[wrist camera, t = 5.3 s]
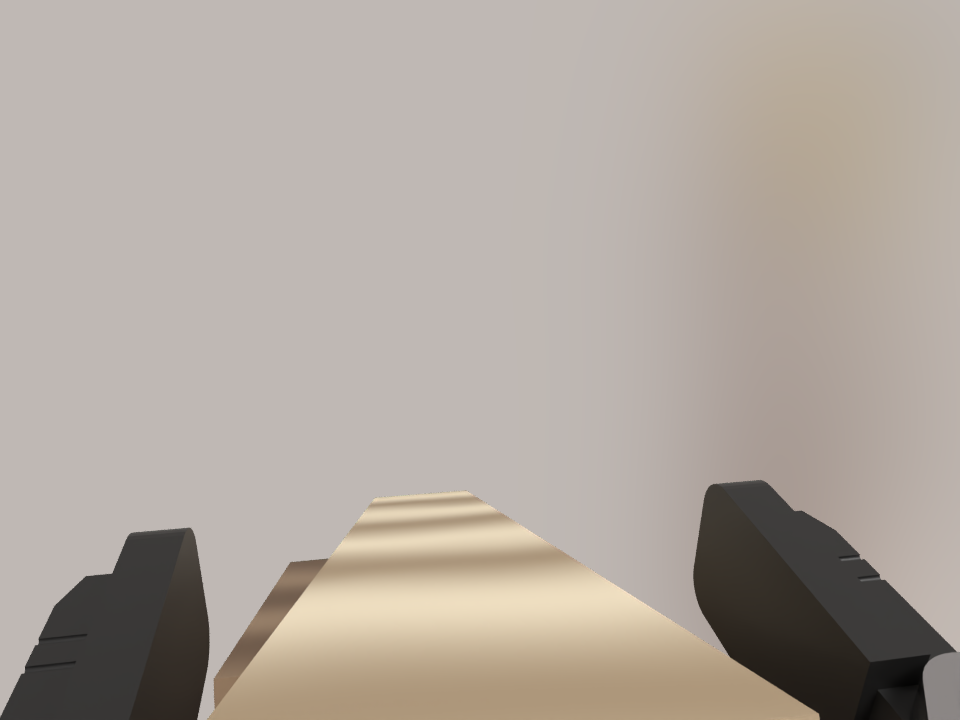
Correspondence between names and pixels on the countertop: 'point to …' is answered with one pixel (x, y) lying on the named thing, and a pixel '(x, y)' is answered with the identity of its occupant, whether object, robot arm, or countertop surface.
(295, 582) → the walnut step stand
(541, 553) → the maple slat
